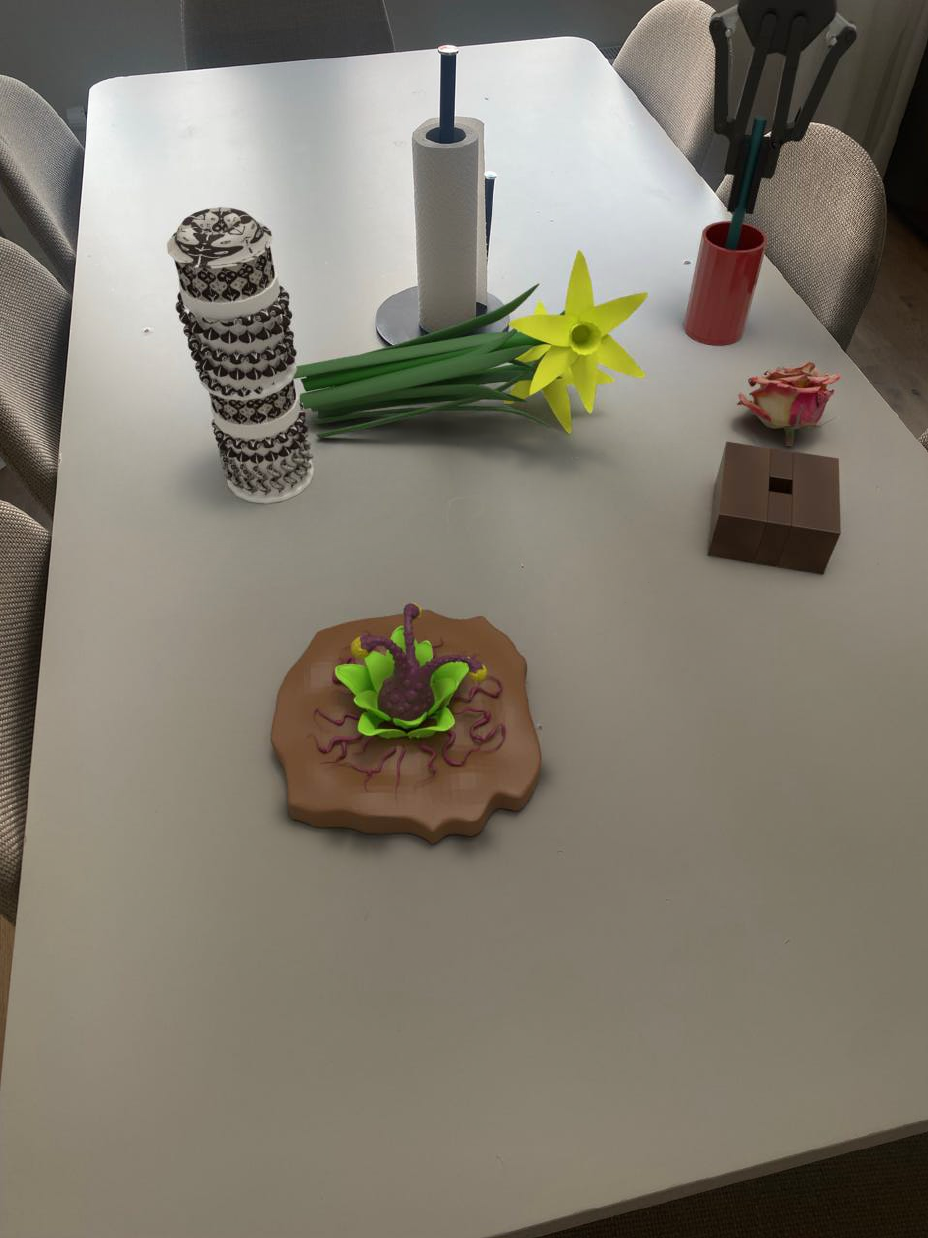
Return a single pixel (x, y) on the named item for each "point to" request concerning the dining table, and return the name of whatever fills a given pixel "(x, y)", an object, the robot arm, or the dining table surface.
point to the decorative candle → (243, 351)
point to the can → (724, 284)
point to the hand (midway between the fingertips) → (740, 206)
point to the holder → (776, 508)
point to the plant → (407, 726)
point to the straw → (746, 182)
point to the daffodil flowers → (481, 363)
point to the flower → (790, 398)
